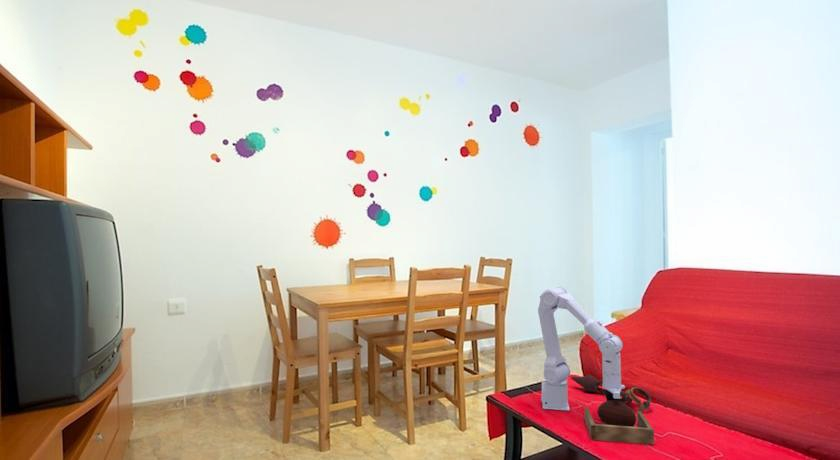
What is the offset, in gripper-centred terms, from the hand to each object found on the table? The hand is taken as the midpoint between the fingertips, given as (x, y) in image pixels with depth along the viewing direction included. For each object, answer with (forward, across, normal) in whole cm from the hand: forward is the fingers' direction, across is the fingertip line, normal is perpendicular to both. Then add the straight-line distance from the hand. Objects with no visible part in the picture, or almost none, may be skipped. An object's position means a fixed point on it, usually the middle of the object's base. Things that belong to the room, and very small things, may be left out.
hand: (612, 412), depth 147 cm
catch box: (+3, -7, 0) cm, 8 cm away
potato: (+4, -5, 0) cm, 6 cm away
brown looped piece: (+4, +14, -10) cm, 18 cm away
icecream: (+4, +29, +3) cm, 29 cm away
